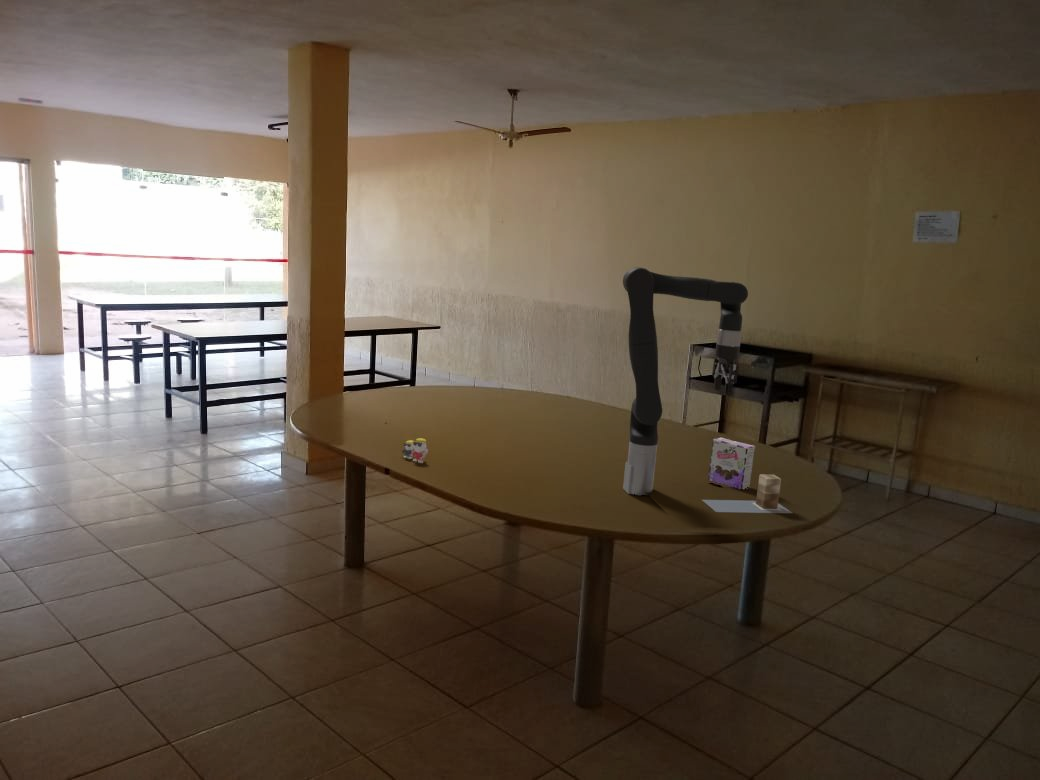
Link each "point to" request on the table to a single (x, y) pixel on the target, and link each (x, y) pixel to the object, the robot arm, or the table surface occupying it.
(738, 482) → the candy box
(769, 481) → the birch block
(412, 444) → the toy figures
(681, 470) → the table surface
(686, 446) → the table surface
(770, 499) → the walnut block
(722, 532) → the table surface
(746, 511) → the board
